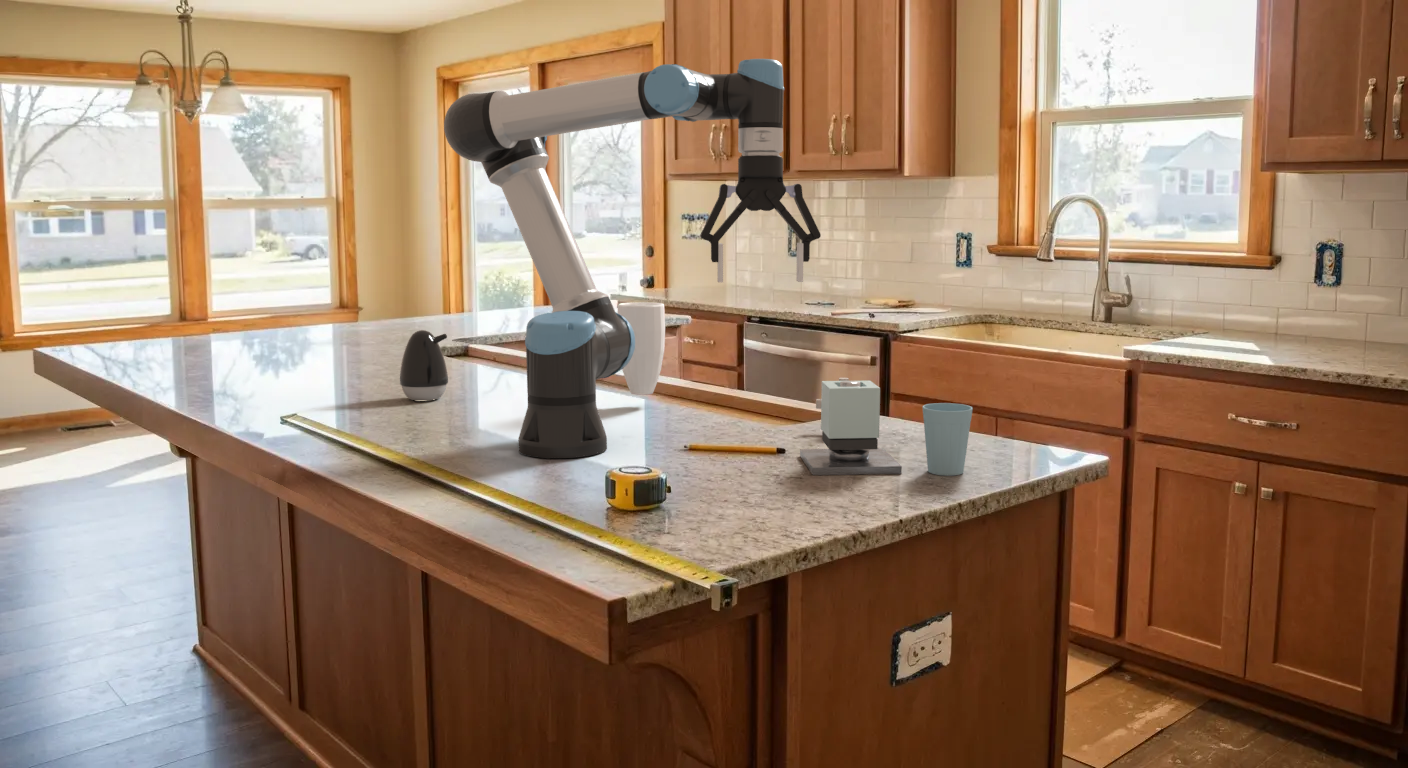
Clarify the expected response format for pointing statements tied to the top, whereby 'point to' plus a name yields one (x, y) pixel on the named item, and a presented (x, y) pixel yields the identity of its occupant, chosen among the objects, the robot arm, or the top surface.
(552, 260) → the robot arm
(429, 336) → the pump dispenser
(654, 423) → the top surface
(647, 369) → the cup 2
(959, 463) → the cup
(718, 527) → the top surface
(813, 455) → the pipe stand
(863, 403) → the sleeve
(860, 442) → the dark grey square slab
